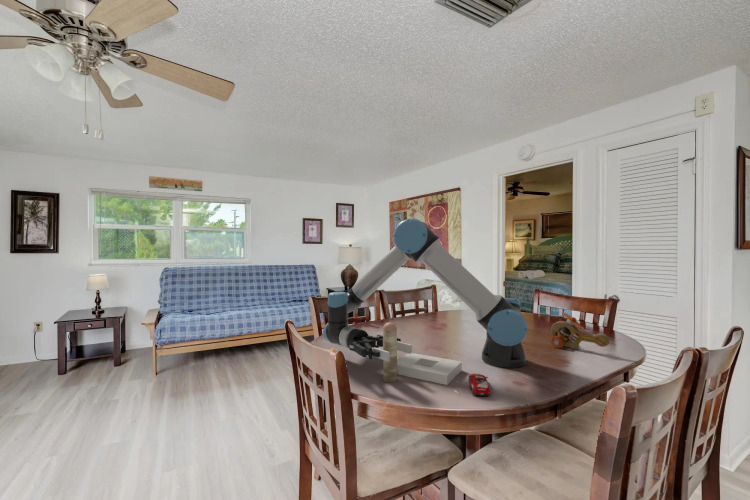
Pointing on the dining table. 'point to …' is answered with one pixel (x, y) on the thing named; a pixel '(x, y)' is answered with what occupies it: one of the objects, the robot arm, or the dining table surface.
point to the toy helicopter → (574, 334)
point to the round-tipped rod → (391, 347)
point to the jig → (428, 368)
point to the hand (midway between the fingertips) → (400, 352)
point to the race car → (479, 385)
